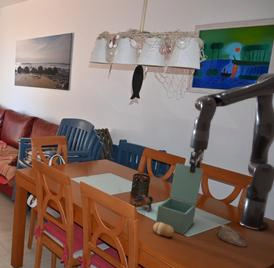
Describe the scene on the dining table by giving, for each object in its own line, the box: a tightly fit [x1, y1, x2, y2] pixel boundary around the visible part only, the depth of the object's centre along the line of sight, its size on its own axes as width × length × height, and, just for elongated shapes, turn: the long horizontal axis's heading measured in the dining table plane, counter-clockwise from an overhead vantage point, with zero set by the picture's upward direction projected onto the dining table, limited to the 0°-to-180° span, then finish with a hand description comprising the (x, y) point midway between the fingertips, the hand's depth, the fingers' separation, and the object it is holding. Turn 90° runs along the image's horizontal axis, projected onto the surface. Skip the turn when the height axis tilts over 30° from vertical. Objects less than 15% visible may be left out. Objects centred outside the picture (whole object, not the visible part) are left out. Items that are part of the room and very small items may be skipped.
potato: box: [152, 222, 175, 238], centre depth 150 cm, size 9×5×5 cm, turn 50°
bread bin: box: [155, 197, 197, 235], centre depth 162 cm, size 17×13×10 cm
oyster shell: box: [217, 224, 246, 247], centre depth 150 cm, size 10×12×5 cm
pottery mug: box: [132, 194, 154, 212], centre depth 180 cm, size 12×10×8 cm
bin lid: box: [169, 163, 204, 205], centre depth 168 cm, size 18×13×5 cm
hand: (194, 171), depth 163 cm, fingers open, 8 cm apart
